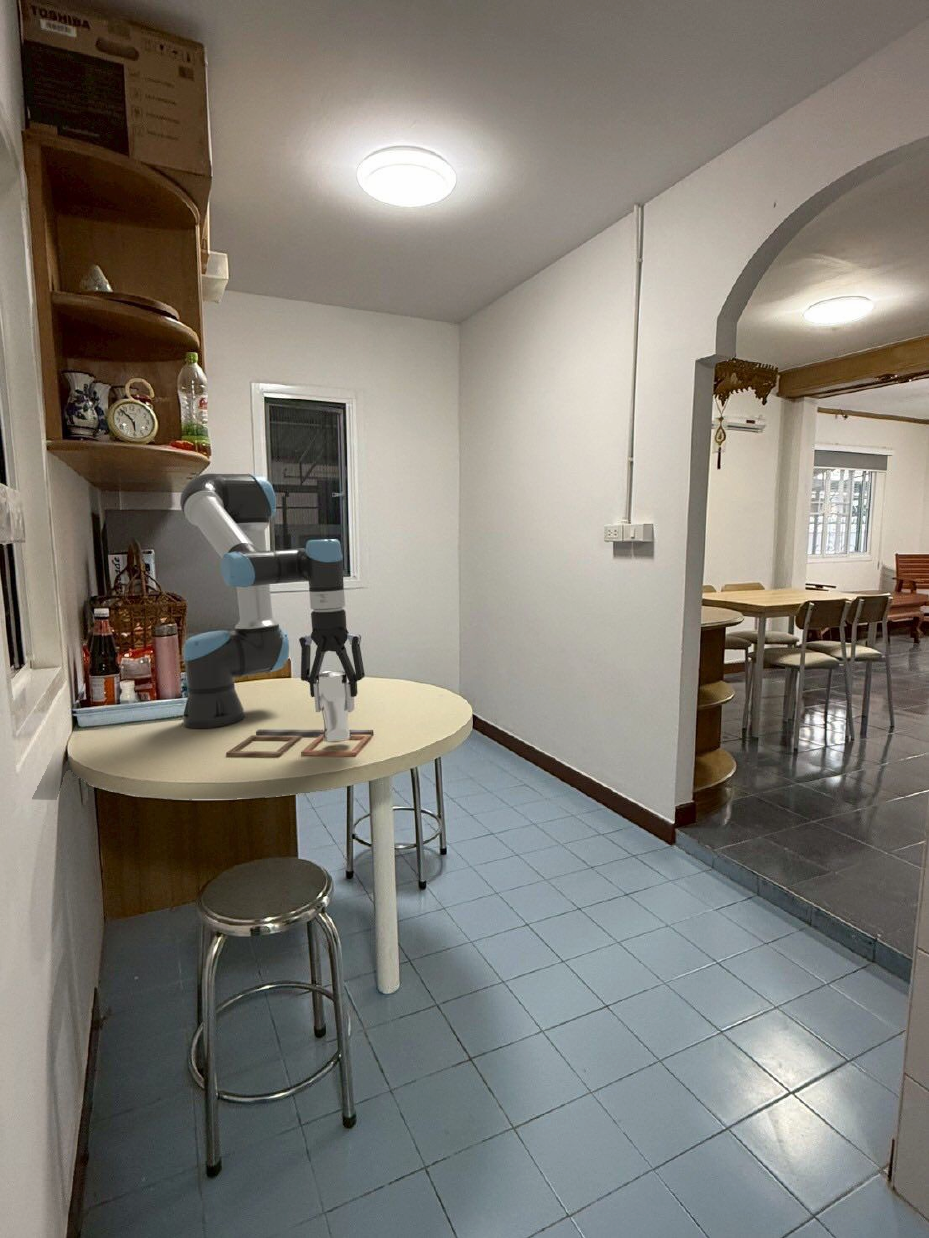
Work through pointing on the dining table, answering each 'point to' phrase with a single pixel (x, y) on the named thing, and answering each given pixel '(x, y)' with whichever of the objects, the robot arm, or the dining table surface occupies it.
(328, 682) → the beer glass
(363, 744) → the double square frame
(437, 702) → the dining table surface
